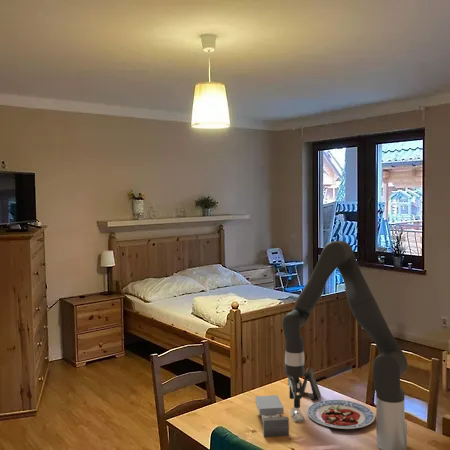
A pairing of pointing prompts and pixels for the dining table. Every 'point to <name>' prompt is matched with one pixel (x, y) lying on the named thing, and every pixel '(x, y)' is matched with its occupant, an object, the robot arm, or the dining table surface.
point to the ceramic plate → (341, 414)
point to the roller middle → (269, 416)
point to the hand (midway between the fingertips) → (294, 402)
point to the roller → (296, 415)
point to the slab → (269, 405)
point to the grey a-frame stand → (314, 386)
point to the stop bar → (275, 426)
